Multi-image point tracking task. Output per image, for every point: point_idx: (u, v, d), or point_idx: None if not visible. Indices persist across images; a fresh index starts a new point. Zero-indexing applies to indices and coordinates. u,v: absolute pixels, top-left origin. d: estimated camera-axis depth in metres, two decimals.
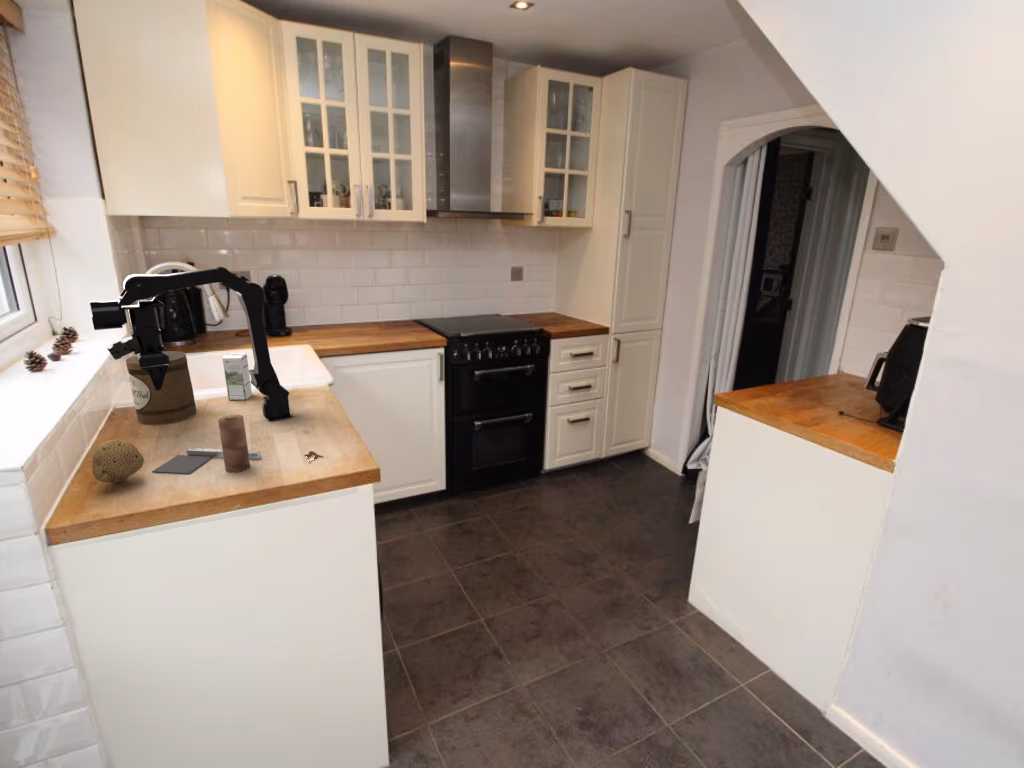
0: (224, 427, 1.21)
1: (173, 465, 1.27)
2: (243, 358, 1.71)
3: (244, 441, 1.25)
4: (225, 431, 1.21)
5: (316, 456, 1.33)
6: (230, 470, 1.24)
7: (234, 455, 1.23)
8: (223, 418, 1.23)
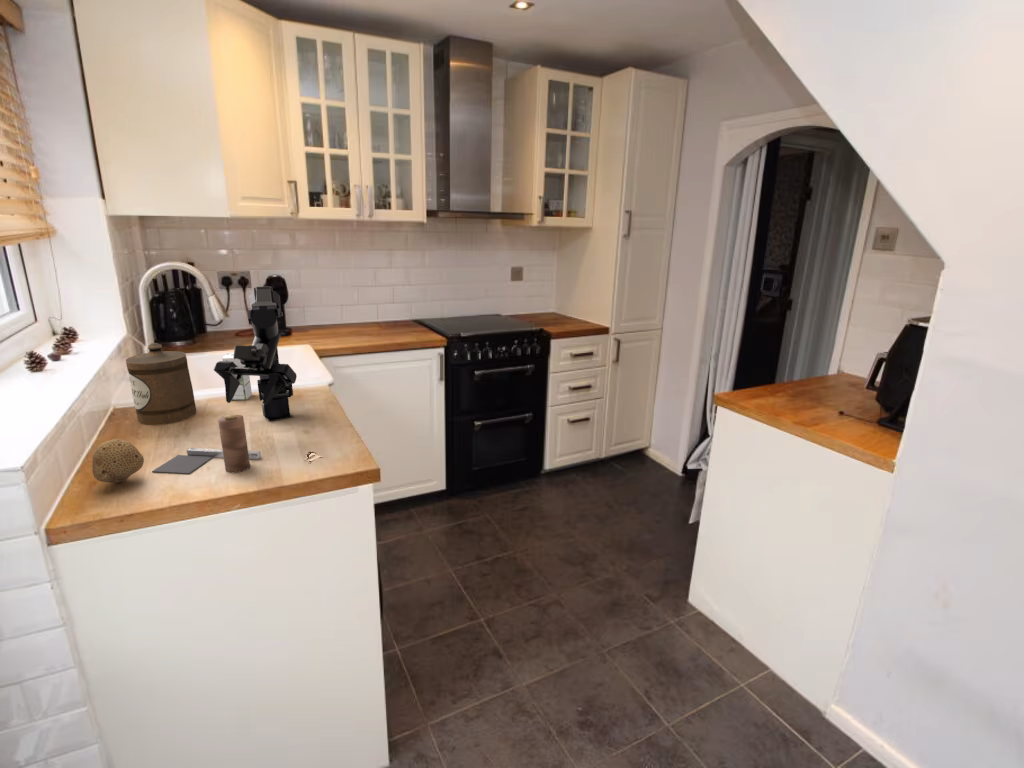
0: (224, 427, 1.21)
1: (173, 465, 1.27)
2: None
3: (244, 441, 1.25)
4: (225, 431, 1.21)
5: None
6: (230, 470, 1.24)
7: (234, 455, 1.23)
8: (223, 418, 1.23)
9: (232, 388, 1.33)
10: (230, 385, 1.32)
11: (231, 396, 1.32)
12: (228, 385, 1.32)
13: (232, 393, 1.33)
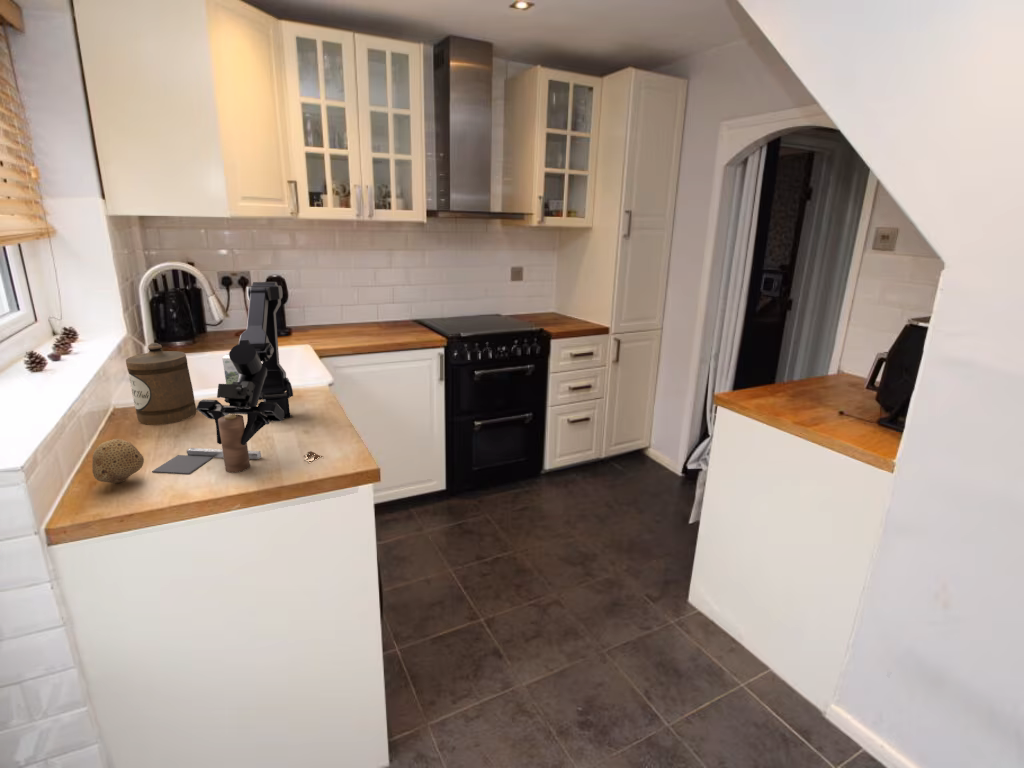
0: (224, 427, 1.21)
1: (173, 465, 1.27)
2: None
3: None
4: (225, 431, 1.21)
5: (316, 456, 1.33)
6: (230, 470, 1.24)
7: (234, 455, 1.23)
8: (223, 418, 1.23)
9: None
10: None
11: None
12: None
13: None
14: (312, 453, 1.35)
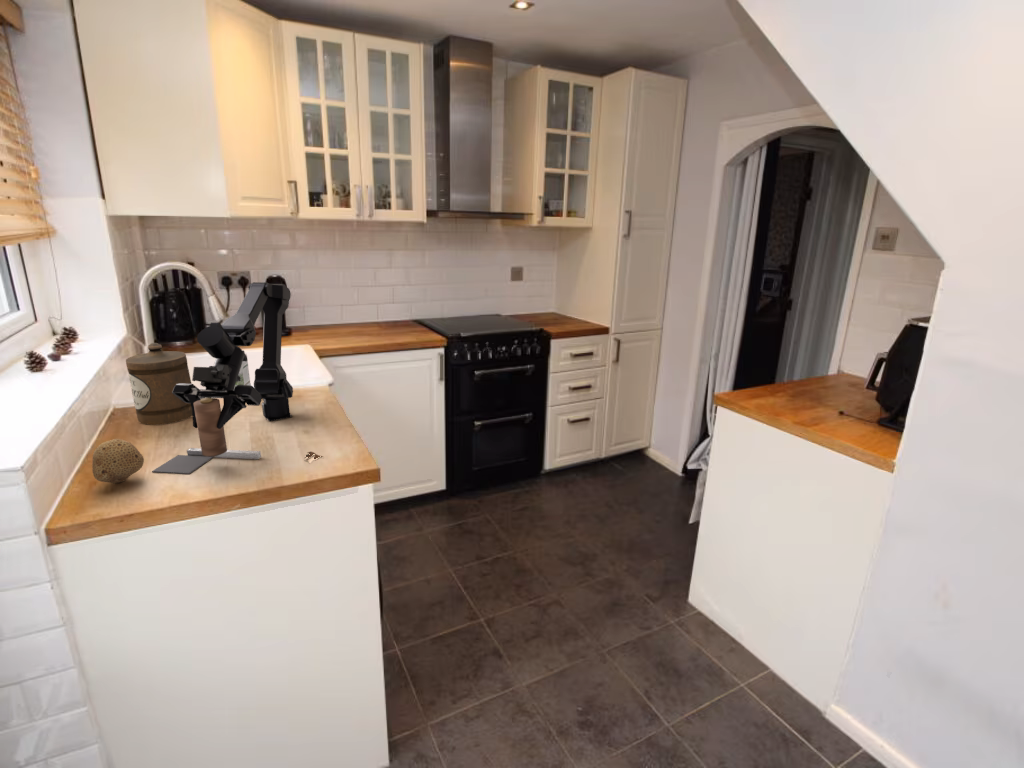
0: (200, 410, 1.20)
1: (173, 465, 1.27)
2: None
3: None
4: (201, 414, 1.21)
5: (316, 456, 1.33)
6: (206, 454, 1.24)
7: (210, 439, 1.23)
8: (199, 401, 1.22)
9: None
10: None
11: None
12: None
13: None
14: (312, 453, 1.35)
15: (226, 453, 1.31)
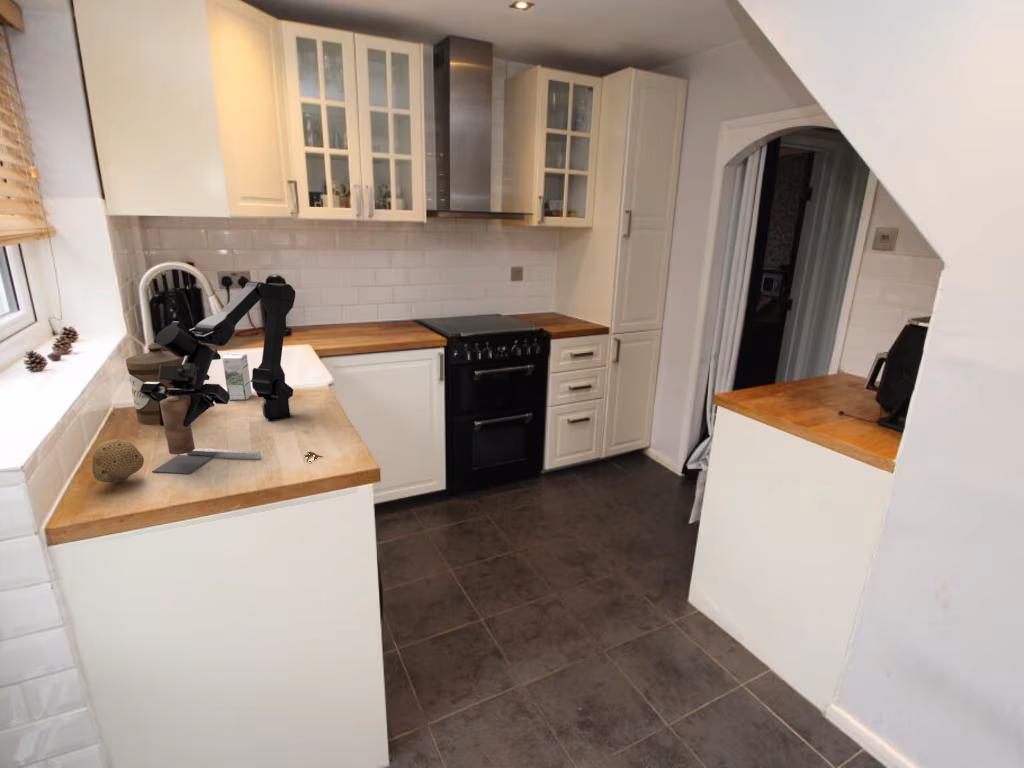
0: (166, 409, 1.21)
1: (173, 465, 1.27)
2: (243, 358, 1.71)
3: None
4: (167, 413, 1.21)
5: (316, 456, 1.33)
6: (173, 452, 1.24)
7: (176, 437, 1.23)
8: (165, 400, 1.23)
9: None
10: None
11: None
12: None
13: None
14: (312, 453, 1.35)
15: (226, 453, 1.31)
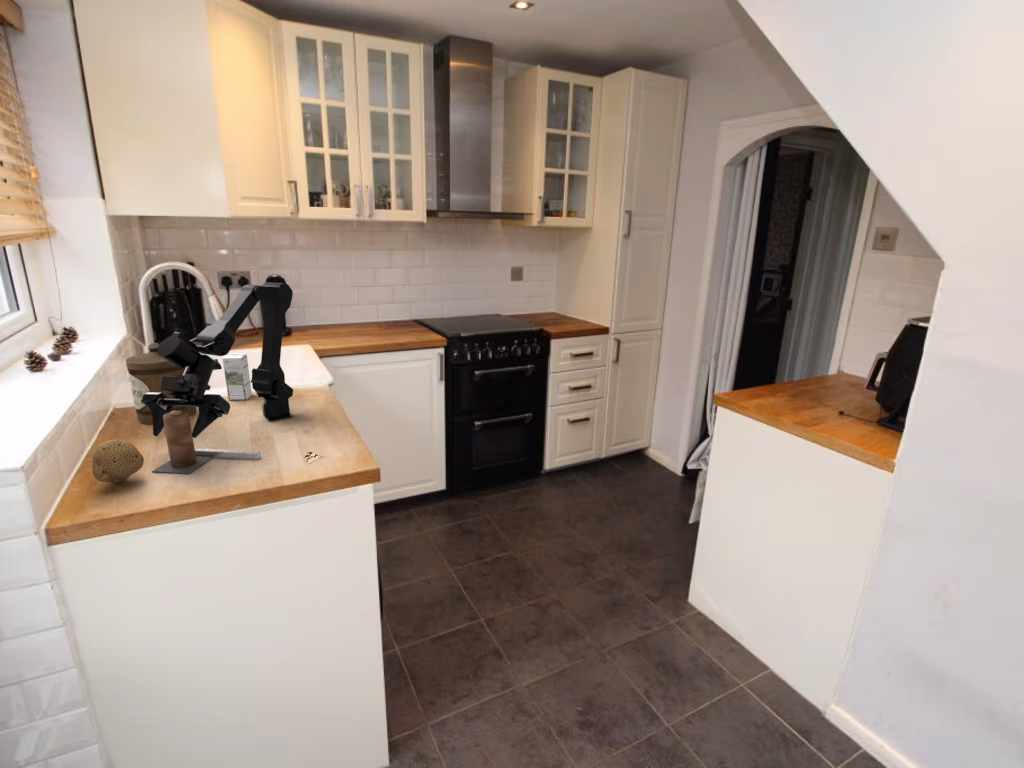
0: (168, 423, 1.22)
1: None
2: (243, 358, 1.71)
3: (189, 437, 1.26)
4: (170, 427, 1.22)
5: None
6: (175, 466, 1.25)
7: (178, 451, 1.24)
8: (168, 414, 1.24)
9: (160, 420, 1.26)
10: (158, 418, 1.26)
11: (159, 429, 1.26)
12: (156, 418, 1.25)
13: (160, 426, 1.26)
14: (311, 453, 1.35)
15: (226, 453, 1.31)
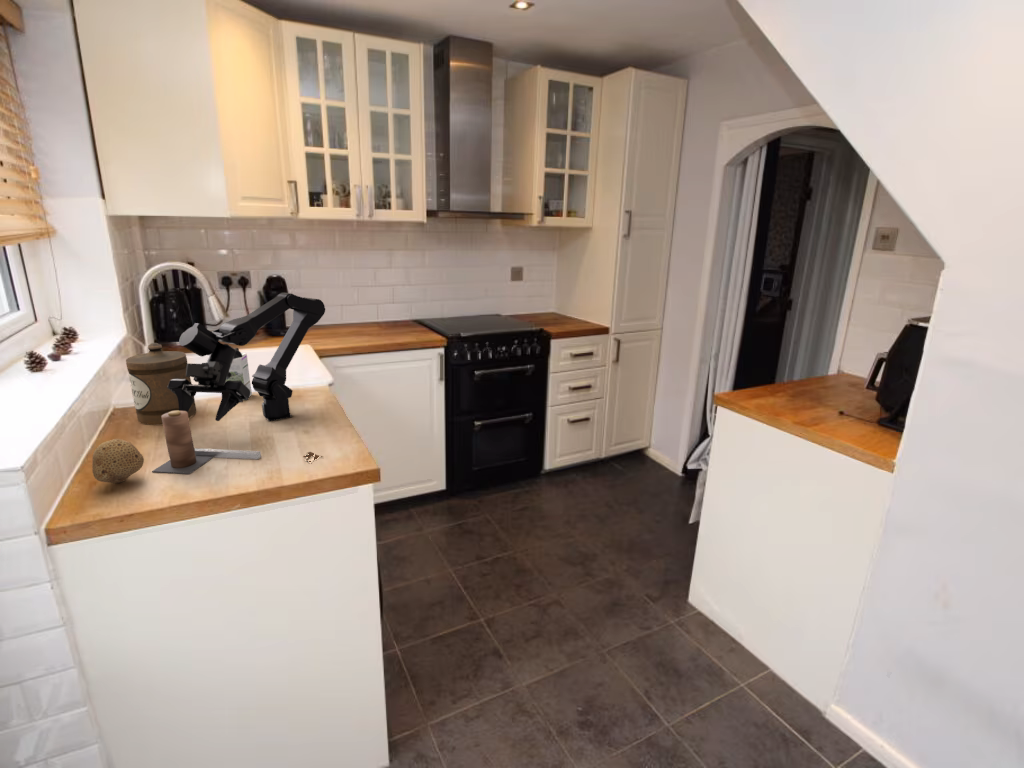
0: (167, 423, 1.22)
1: None
2: (243, 358, 1.71)
3: (189, 437, 1.25)
4: (169, 427, 1.22)
5: (316, 456, 1.33)
6: (175, 466, 1.25)
7: (178, 451, 1.24)
8: (167, 414, 1.24)
9: (186, 405, 1.35)
10: (184, 402, 1.34)
11: None
12: (181, 402, 1.34)
13: (186, 410, 1.35)
14: (311, 453, 1.34)
15: (226, 453, 1.31)
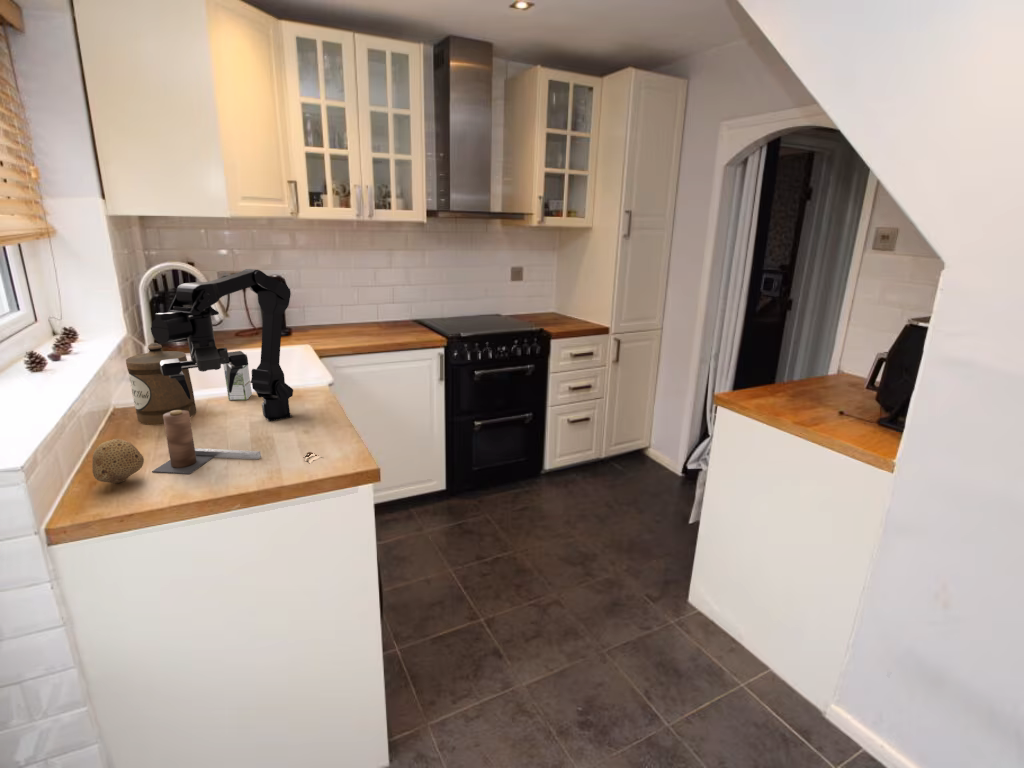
0: (169, 422, 1.22)
1: None
2: None
3: (190, 436, 1.26)
4: (170, 426, 1.23)
5: None
6: (175, 465, 1.25)
7: (179, 450, 1.24)
8: (168, 414, 1.24)
9: None
10: (186, 383, 1.32)
11: None
12: (185, 385, 1.32)
13: None
14: None
15: (226, 453, 1.31)
